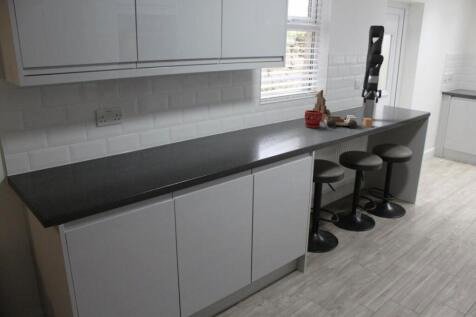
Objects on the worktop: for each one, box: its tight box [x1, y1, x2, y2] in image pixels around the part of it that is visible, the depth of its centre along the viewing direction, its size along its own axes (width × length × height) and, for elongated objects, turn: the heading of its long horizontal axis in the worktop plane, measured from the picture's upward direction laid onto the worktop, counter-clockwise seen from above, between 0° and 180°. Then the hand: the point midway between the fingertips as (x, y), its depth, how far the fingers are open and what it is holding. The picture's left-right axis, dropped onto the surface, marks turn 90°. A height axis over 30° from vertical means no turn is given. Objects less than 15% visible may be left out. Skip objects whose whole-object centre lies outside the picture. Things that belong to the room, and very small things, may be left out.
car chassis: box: [323, 114, 358, 129], centre depth 304 cm, size 17×22×8 cm
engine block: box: [362, 118, 374, 128], centre depth 305 cm, size 7×5×6 cm
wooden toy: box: [311, 89, 332, 123], centre depth 318 cm, size 16×7×25 cm, turn 41°
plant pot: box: [304, 109, 323, 129], centre depth 296 cm, size 13×13×12 cm
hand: (370, 103), depth 300 cm, fingers open, 8 cm apart
